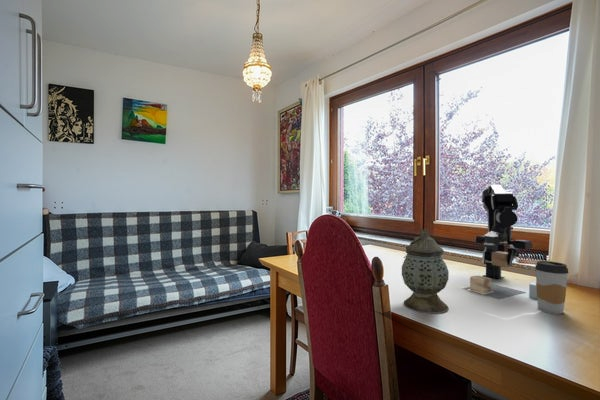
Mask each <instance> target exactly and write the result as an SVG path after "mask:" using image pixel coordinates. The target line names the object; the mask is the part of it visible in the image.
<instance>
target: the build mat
mask: <svg viewBox="0 0 600 400" xmlns="http://www.w3.org/2000/svg"><path fill="white" fill-rule="evenodd" d="M461 289H462V290H465V291H468V292H472V293H475V294H479V295H483V296H486V297H490V298H493V299H496V300H501V299H506V298H510V297H514V296H518V295H522V294H526V293H527V292H526V291H522V290H520V289H519V290H518V289H515V288H511V287H508V286H507V287H506V286H503V285H498V284H495V283H491V292H487V293H480V292H476V291H472V290H470V286H467V287H464V288H461Z"/></svg>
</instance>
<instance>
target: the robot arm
mask: <svg viewBox="0 0 600 400" xmlns="http://www.w3.org/2000/svg"><path fill="white" fill-rule="evenodd" d="M480 201H481V203H482V207H483V209H484V210H485V211H486V213H487V233H486V234H484V235H477V236H476V237H475V238H474V239H475V241H474V243H475V244H482V246H484V250H483V252H482V257H481V259H482V260H481V262H482V264H483V265H485V274H484V275H482V276H483V277H488V278H491V280H492V279H493V280H502V279H505V278H506V277H505V276H502V267H500V266H495V265H492V252H498V251H500V252H506V251H507V253H508V265H511V263H512V264H513V261H514V259H515V257H516V256H517V254H518V252H520V250H521V251H522V250H529V249H533V242H532V241H531V240H529V239H528V240H526V239H515V240H514V237H512V230H514V227H513V226H514V225H515V224H516V223H517V222H518V215H517V214H516V212H515V211H517V210H518V208H519V203H518V200H517V198H516V195H514V193H513V192H511V191H505V189H504V188H503V185H500V184H490V185H488V186H487V188H486V189H483V191H482V193H481V199H480ZM506 245H507V246H509V247H506V251H505V246H506Z"/></svg>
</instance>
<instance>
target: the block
mask: <svg viewBox="0 0 600 400" xmlns="http://www.w3.org/2000/svg"><path fill="white" fill-rule="evenodd" d="M528 285H529V288H528V289H529V291H528V292H529V293H528V297H529V298H534V299H537V289H536V281H532V282H530V283H529V284H528Z"/></svg>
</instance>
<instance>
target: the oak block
mask: <svg viewBox="0 0 600 400" xmlns="http://www.w3.org/2000/svg"><path fill="white" fill-rule="evenodd" d="M491 284H492V278H488V277H483V275H479V274H478V275H473V276H470V277H469V287H470V290H472V291H476V292H480V293H487V292H491Z"/></svg>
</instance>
